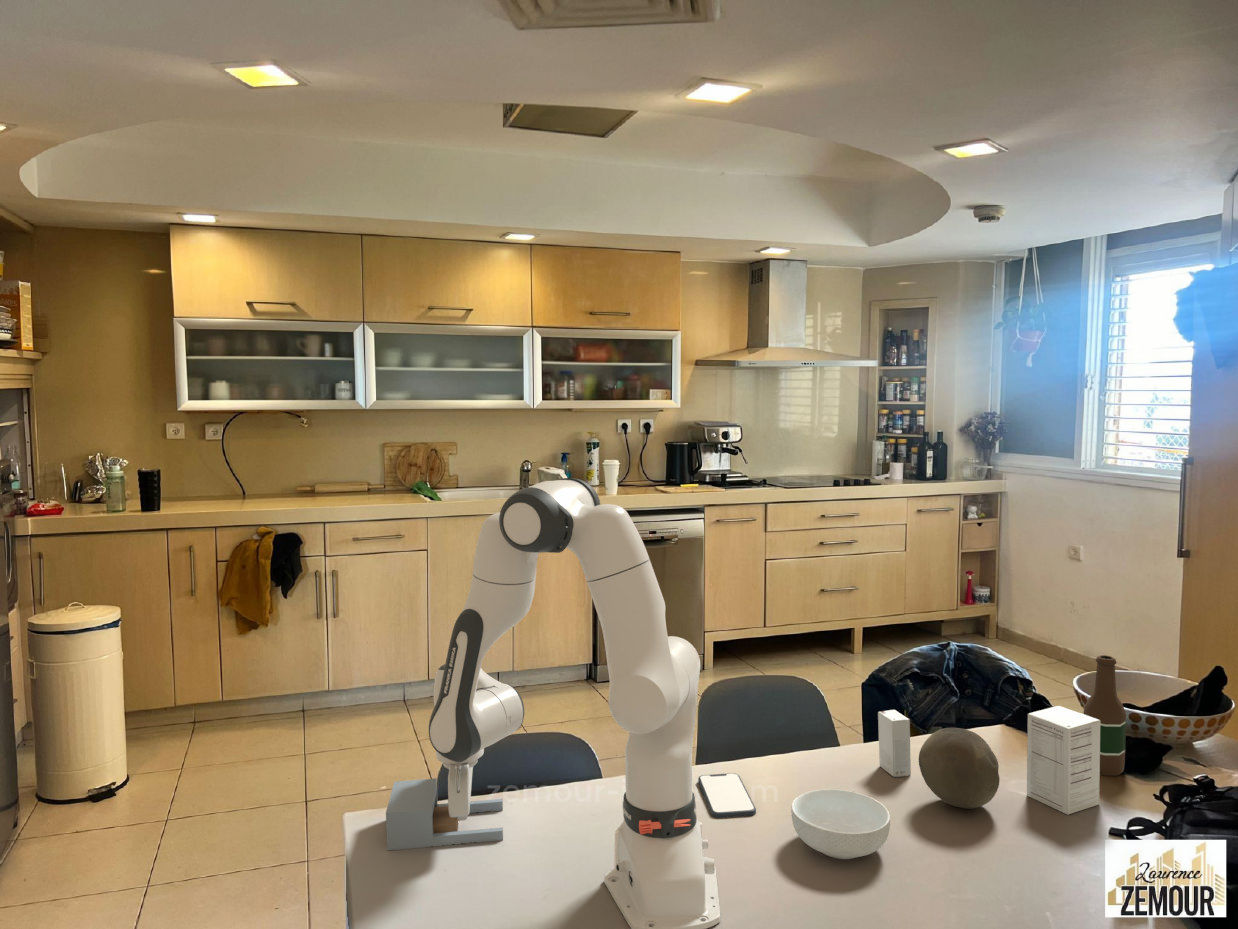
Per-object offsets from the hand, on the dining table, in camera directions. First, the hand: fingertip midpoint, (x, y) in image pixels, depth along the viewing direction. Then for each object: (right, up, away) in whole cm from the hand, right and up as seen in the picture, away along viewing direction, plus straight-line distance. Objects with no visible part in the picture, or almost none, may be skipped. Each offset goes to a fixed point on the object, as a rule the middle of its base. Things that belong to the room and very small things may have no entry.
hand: (462, 817), depth 162 cm
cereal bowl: (+68, -2, -10) cm, 69 cm away
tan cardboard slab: (-6, -3, -1) cm, 6 cm away
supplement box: (+116, +1, +6) cm, 116 cm away
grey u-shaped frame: (-3, -2, 0) cm, 3 cm away
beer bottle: (+131, +2, +19) cm, 133 cm away
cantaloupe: (+95, 0, +4) cm, 95 cm away
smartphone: (+51, -1, +10) cm, 52 cm away
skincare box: (+88, +1, +20) cm, 90 cm away
